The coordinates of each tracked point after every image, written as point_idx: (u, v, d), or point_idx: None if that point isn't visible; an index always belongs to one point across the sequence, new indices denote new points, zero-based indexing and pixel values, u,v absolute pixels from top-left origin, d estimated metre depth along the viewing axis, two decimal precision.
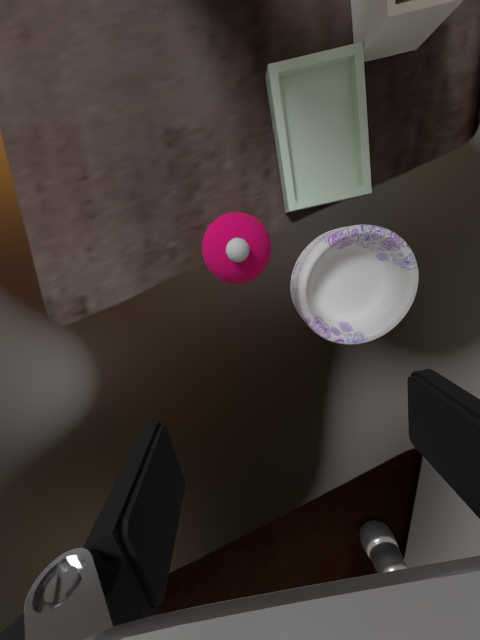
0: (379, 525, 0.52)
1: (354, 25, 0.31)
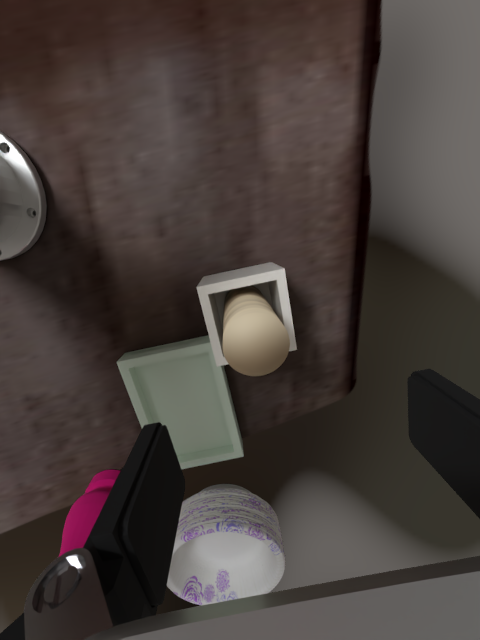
0: None
1: None
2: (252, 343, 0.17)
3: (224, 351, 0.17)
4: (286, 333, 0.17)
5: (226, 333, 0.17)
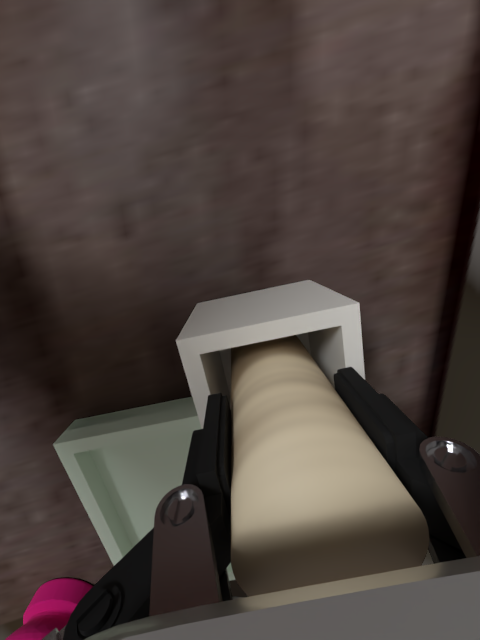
0: None
1: None
2: (319, 550, 0.06)
3: (236, 569, 0.06)
4: (422, 524, 0.06)
5: (243, 527, 0.06)
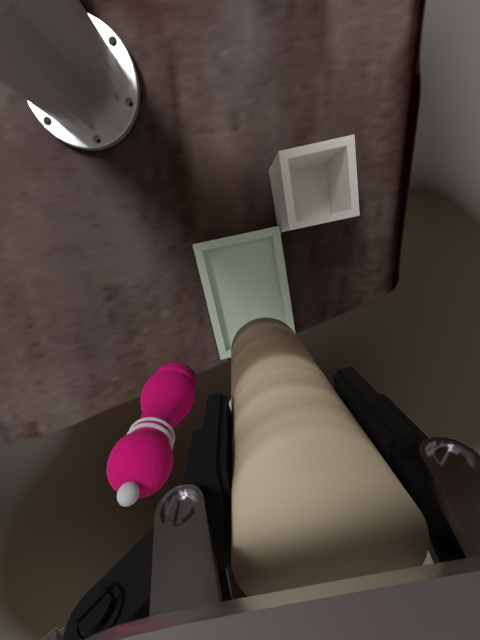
0: None
1: (274, 204, 0.33)
2: (319, 551, 0.06)
3: (236, 571, 0.06)
4: (422, 525, 0.06)
5: (243, 528, 0.06)
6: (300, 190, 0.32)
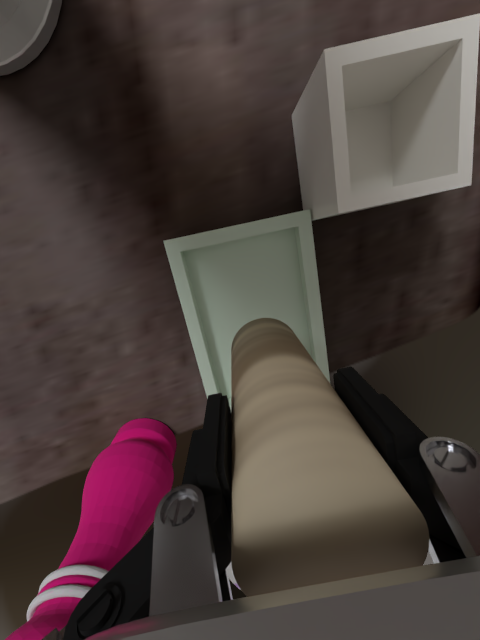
0: None
1: (300, 174, 0.20)
2: (320, 551, 0.06)
3: (236, 571, 0.06)
4: (422, 526, 0.06)
5: (243, 529, 0.06)
6: None
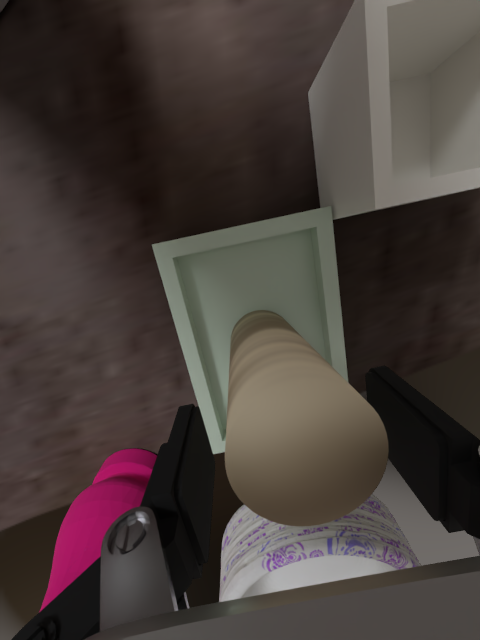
0: None
1: (318, 164, 0.17)
2: (297, 452, 0.07)
3: (229, 471, 0.07)
4: (381, 429, 0.07)
5: (234, 428, 0.07)
6: None
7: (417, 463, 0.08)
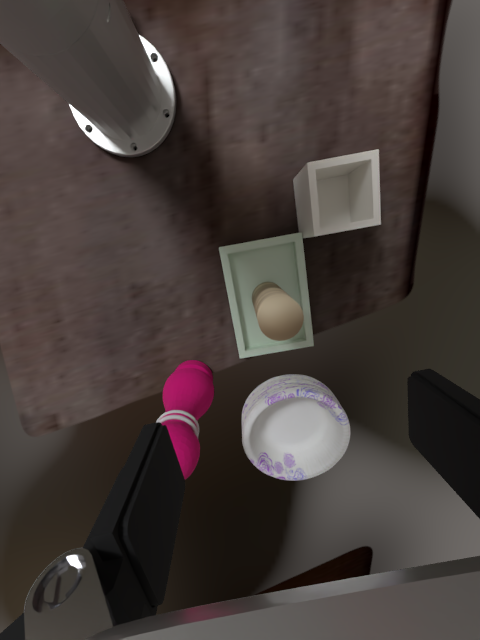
0: None
1: (297, 211, 0.35)
2: (278, 317, 0.26)
3: (259, 322, 0.26)
4: (301, 311, 0.26)
5: (261, 309, 0.25)
6: (322, 199, 0.34)
7: None
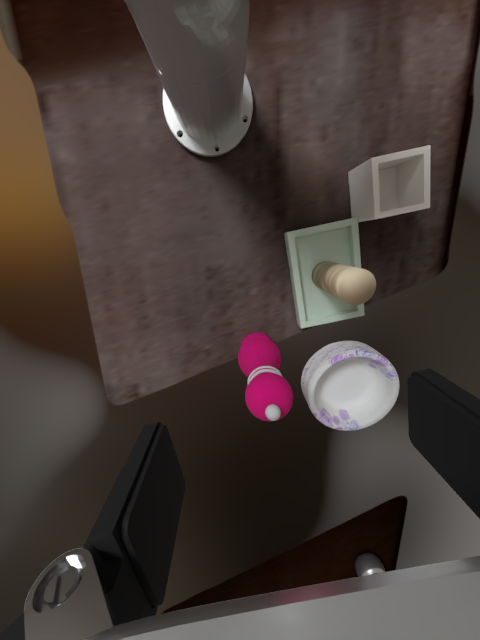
0: (371, 558, 0.62)
1: (351, 199, 0.41)
2: (356, 285, 0.32)
3: (340, 290, 0.32)
4: (374, 280, 0.32)
5: (342, 280, 0.32)
6: None
7: None
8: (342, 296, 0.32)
